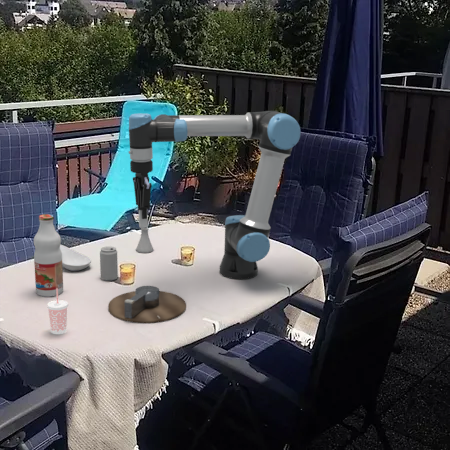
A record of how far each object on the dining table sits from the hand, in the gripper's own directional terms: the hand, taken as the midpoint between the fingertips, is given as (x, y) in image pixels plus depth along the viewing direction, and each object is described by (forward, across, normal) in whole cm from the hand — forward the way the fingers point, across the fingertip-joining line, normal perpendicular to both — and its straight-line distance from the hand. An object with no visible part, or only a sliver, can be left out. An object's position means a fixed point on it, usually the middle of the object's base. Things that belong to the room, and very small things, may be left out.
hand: (143, 226), depth 220 cm
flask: (+25, -45, +15) cm, 53 cm away
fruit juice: (+24, -12, -32) cm, 41 cm away
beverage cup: (+24, +21, -35) cm, 47 cm away
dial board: (+24, +14, -4) cm, 28 cm away
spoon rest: (+24, -39, -20) cm, 50 cm away
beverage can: (+24, -17, -8) cm, 31 cm away
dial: (+23, +17, -7) cm, 29 cm away
